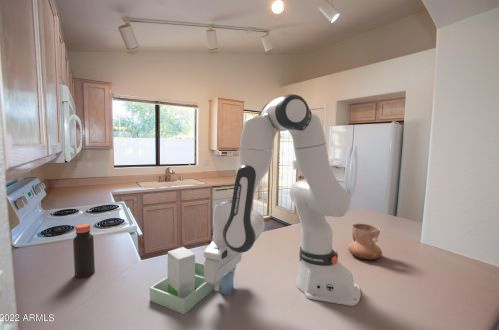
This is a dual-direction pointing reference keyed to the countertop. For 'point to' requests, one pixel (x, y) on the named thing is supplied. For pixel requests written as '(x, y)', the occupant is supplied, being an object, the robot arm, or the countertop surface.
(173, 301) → the green divided tray
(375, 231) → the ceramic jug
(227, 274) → the light blue rounded cone
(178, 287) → the skincare box
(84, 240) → the vinegar
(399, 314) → the countertop surface
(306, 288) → the robot arm
